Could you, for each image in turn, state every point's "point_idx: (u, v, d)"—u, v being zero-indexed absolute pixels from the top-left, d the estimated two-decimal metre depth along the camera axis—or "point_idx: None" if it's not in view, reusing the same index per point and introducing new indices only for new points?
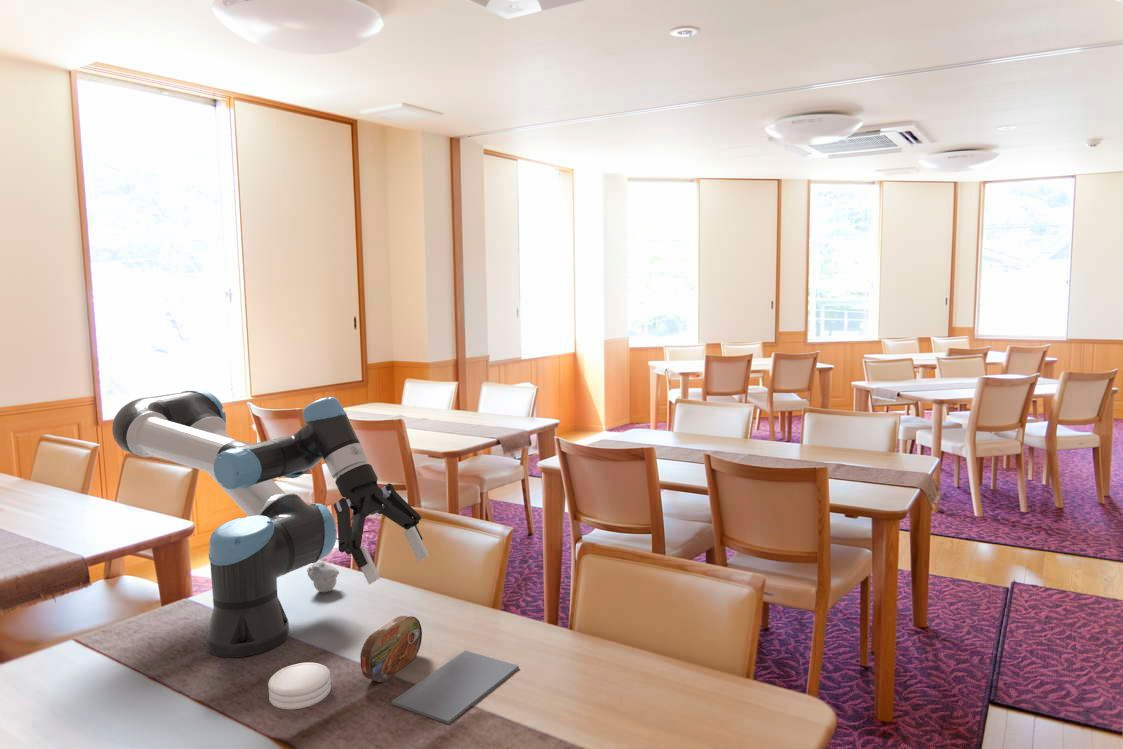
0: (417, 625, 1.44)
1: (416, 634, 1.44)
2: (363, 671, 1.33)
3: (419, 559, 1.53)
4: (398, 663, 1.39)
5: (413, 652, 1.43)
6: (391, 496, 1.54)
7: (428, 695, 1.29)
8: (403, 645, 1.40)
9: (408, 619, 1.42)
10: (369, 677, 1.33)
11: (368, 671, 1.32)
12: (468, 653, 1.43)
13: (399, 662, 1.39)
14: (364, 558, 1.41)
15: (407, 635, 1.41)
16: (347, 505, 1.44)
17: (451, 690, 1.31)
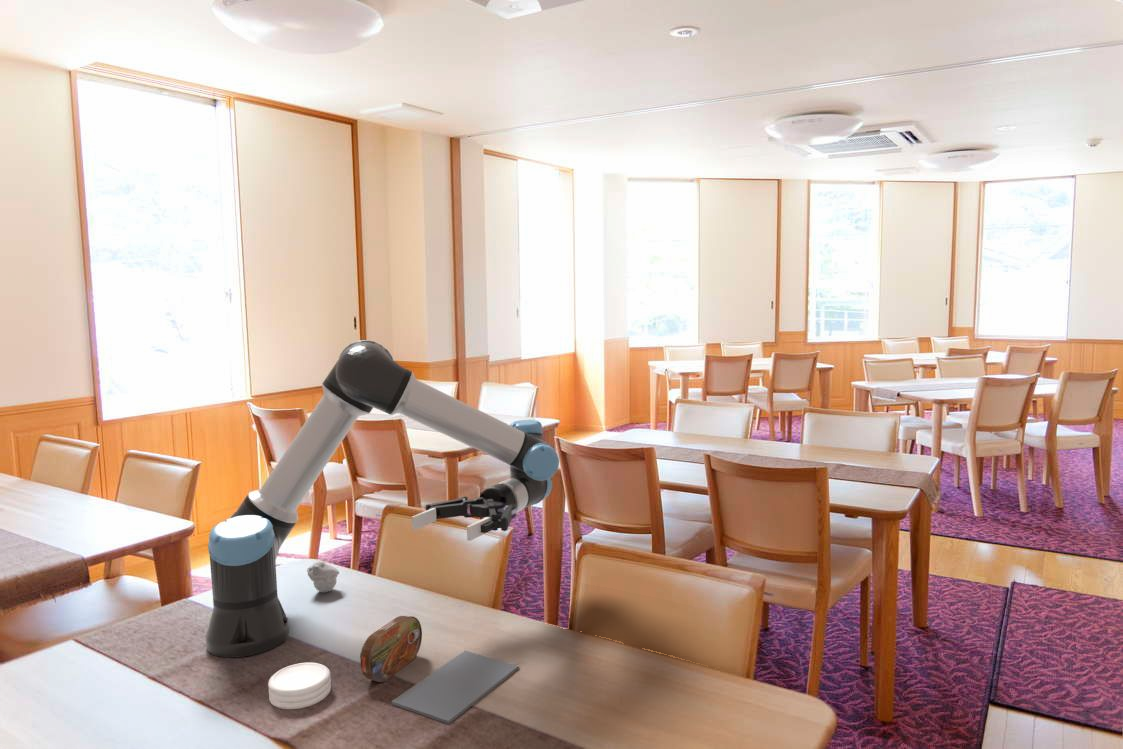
0: (417, 625, 1.44)
1: (416, 634, 1.44)
2: (363, 671, 1.33)
3: (415, 519, 1.53)
4: (398, 663, 1.39)
5: (413, 652, 1.43)
6: None
7: (428, 695, 1.29)
8: (403, 645, 1.40)
9: (408, 619, 1.42)
10: (369, 677, 1.33)
11: (368, 671, 1.32)
12: (468, 653, 1.43)
13: (399, 662, 1.39)
14: None
15: (407, 635, 1.41)
16: None
17: (451, 690, 1.31)
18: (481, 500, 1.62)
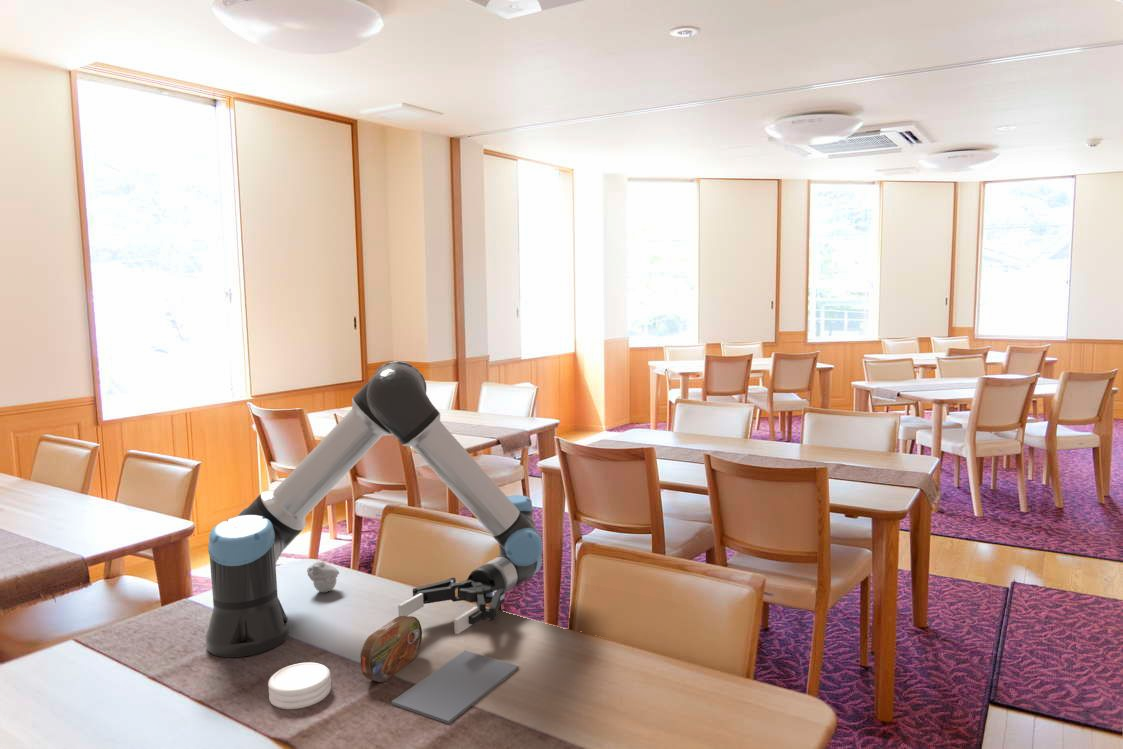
0: (417, 625, 1.44)
1: (416, 634, 1.44)
2: (363, 671, 1.33)
3: (402, 608, 1.49)
4: (398, 663, 1.39)
5: (413, 652, 1.43)
6: None
7: (428, 695, 1.29)
8: (403, 645, 1.40)
9: (408, 619, 1.42)
10: (369, 677, 1.33)
11: (368, 671, 1.32)
12: (468, 653, 1.43)
13: (399, 662, 1.39)
14: None
15: (407, 635, 1.41)
16: None
17: (451, 690, 1.31)
18: (469, 583, 1.59)
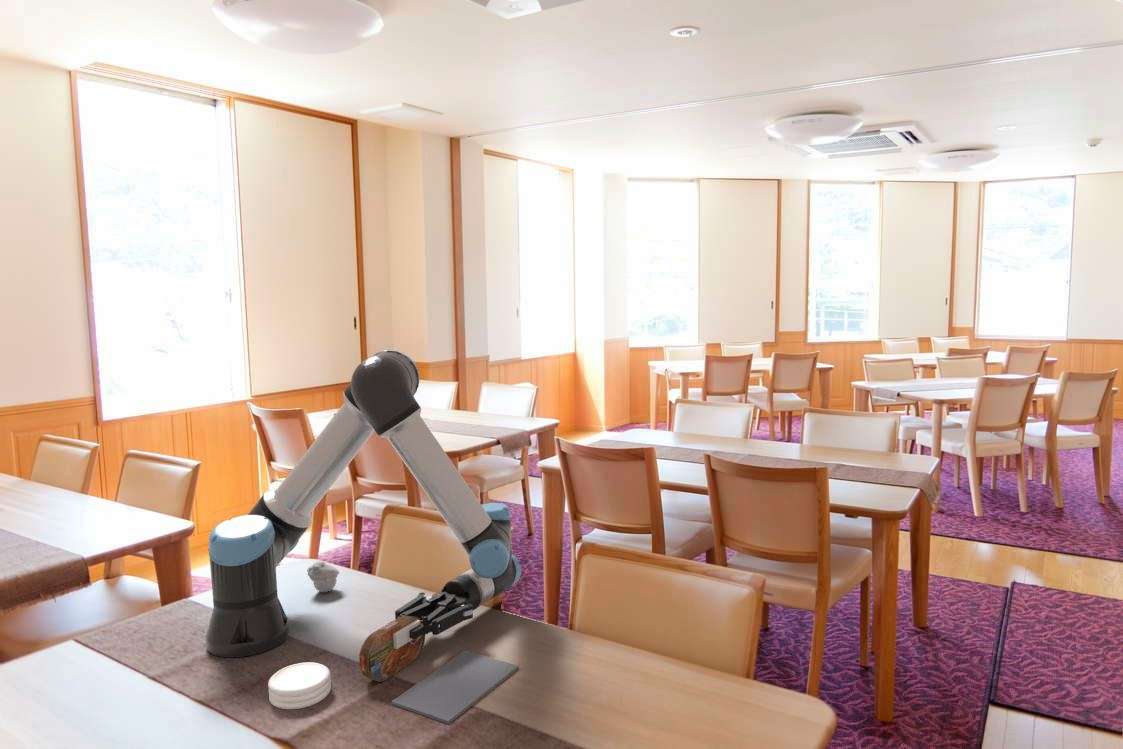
0: None
1: None
2: (362, 670, 1.33)
3: None
4: (399, 663, 1.39)
5: (415, 652, 1.43)
6: None
7: (428, 695, 1.29)
8: (404, 645, 1.40)
9: (410, 619, 1.42)
10: (368, 676, 1.33)
11: (366, 670, 1.32)
12: (468, 653, 1.43)
13: (400, 662, 1.39)
14: None
15: None
16: None
17: (451, 690, 1.31)
18: (444, 595, 1.52)
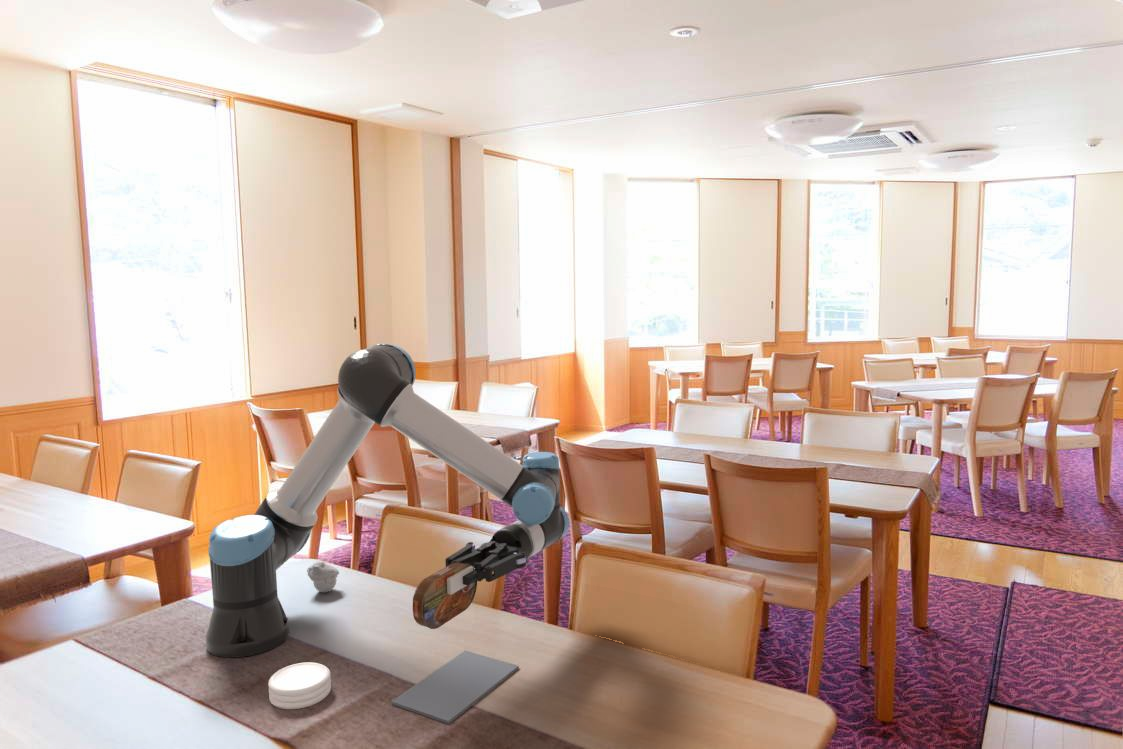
0: None
1: None
2: (415, 616, 1.26)
3: None
4: (451, 611, 1.32)
5: (467, 601, 1.36)
6: None
7: (428, 695, 1.29)
8: (457, 593, 1.33)
9: (464, 566, 1.34)
10: (420, 622, 1.26)
11: (420, 616, 1.25)
12: (468, 653, 1.43)
13: (452, 611, 1.32)
14: None
15: None
16: None
17: (451, 690, 1.31)
18: (494, 544, 1.45)
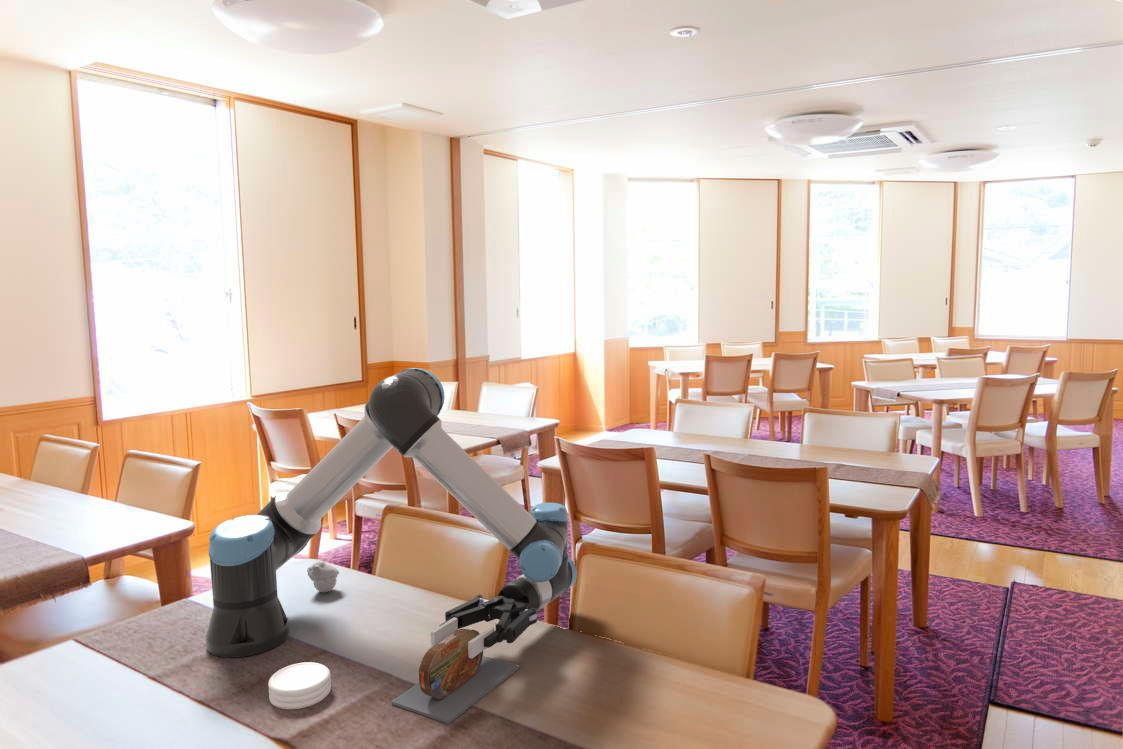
0: None
1: None
2: (421, 687, 1.26)
3: (435, 635, 1.33)
4: (458, 679, 1.32)
5: (474, 667, 1.36)
6: None
7: None
8: (463, 660, 1.33)
9: (469, 632, 1.35)
10: (428, 693, 1.26)
11: (427, 687, 1.25)
12: None
13: (459, 678, 1.32)
14: None
15: None
16: None
17: None
18: (502, 600, 1.45)
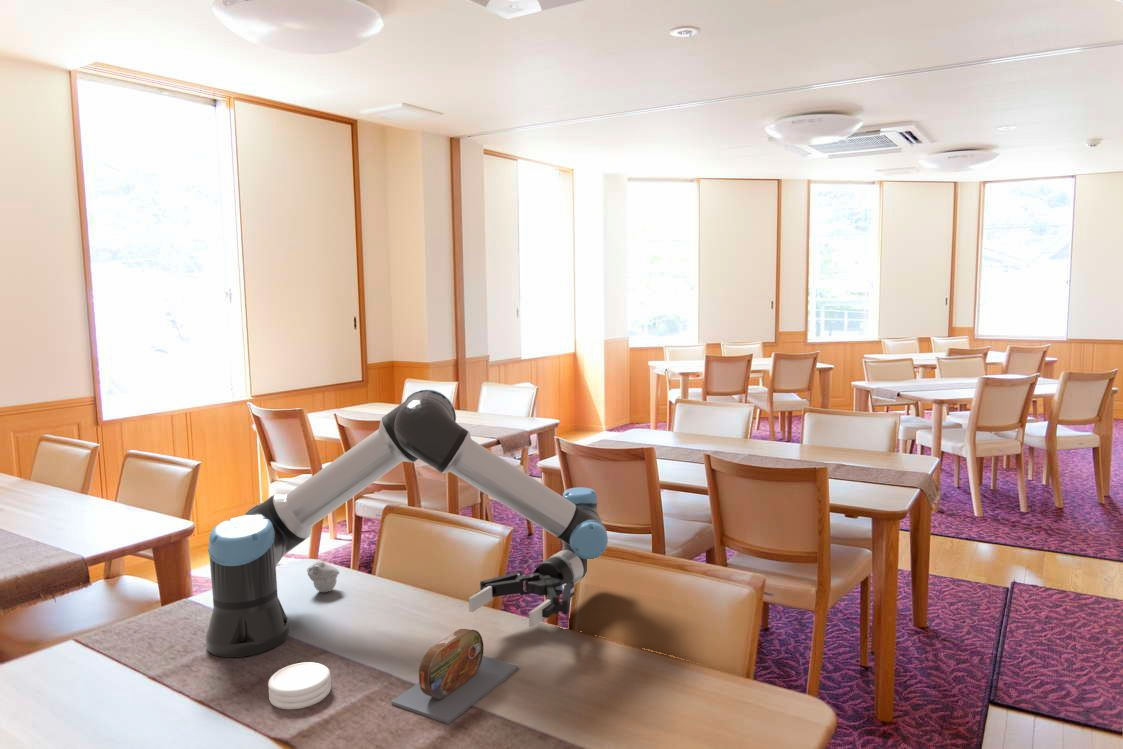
0: (478, 639, 1.37)
1: (477, 648, 1.37)
2: (421, 687, 1.26)
3: (472, 601, 1.47)
4: (458, 679, 1.32)
5: (474, 667, 1.36)
6: None
7: None
8: (463, 660, 1.33)
9: (469, 632, 1.35)
10: (428, 693, 1.26)
11: (427, 687, 1.25)
12: None
13: (459, 678, 1.32)
14: None
15: (468, 649, 1.34)
16: None
17: None
18: (537, 576, 1.56)
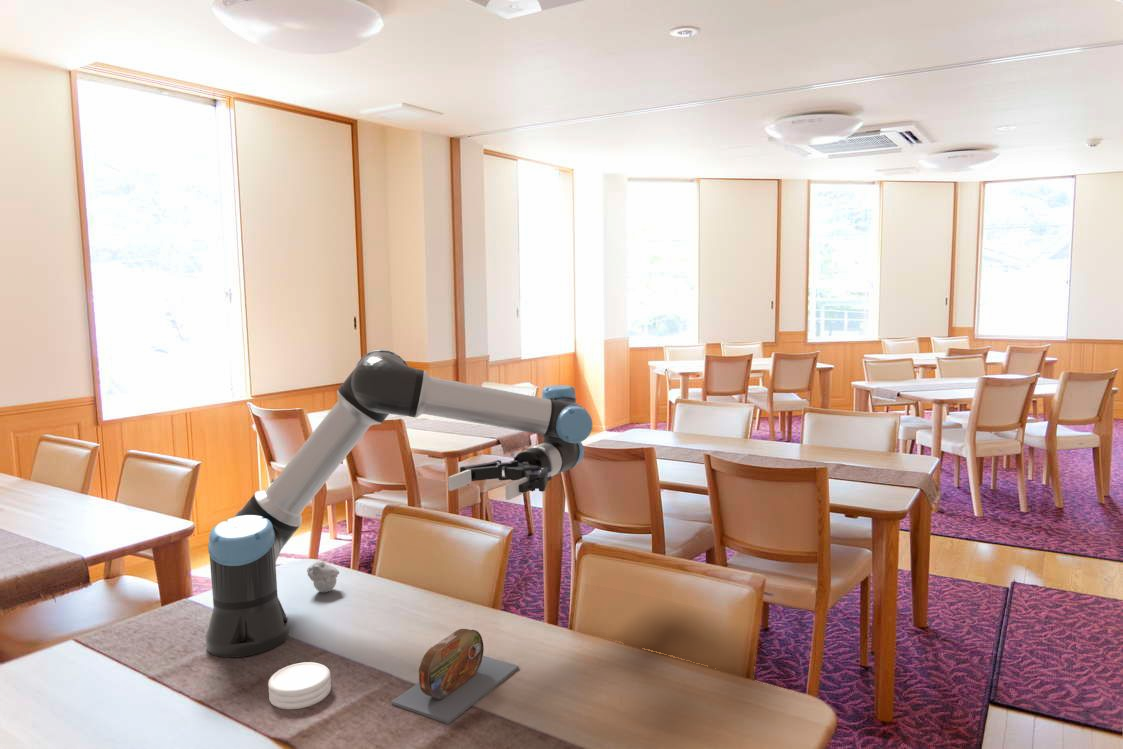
0: (478, 639, 1.37)
1: (477, 648, 1.37)
2: (421, 687, 1.26)
3: (451, 479, 1.51)
4: (458, 679, 1.32)
5: (474, 667, 1.36)
6: None
7: None
8: (463, 660, 1.33)
9: (469, 633, 1.35)
10: (428, 693, 1.26)
11: (427, 687, 1.25)
12: None
13: (459, 678, 1.32)
14: None
15: (468, 649, 1.34)
16: None
17: None
18: (516, 463, 1.60)
